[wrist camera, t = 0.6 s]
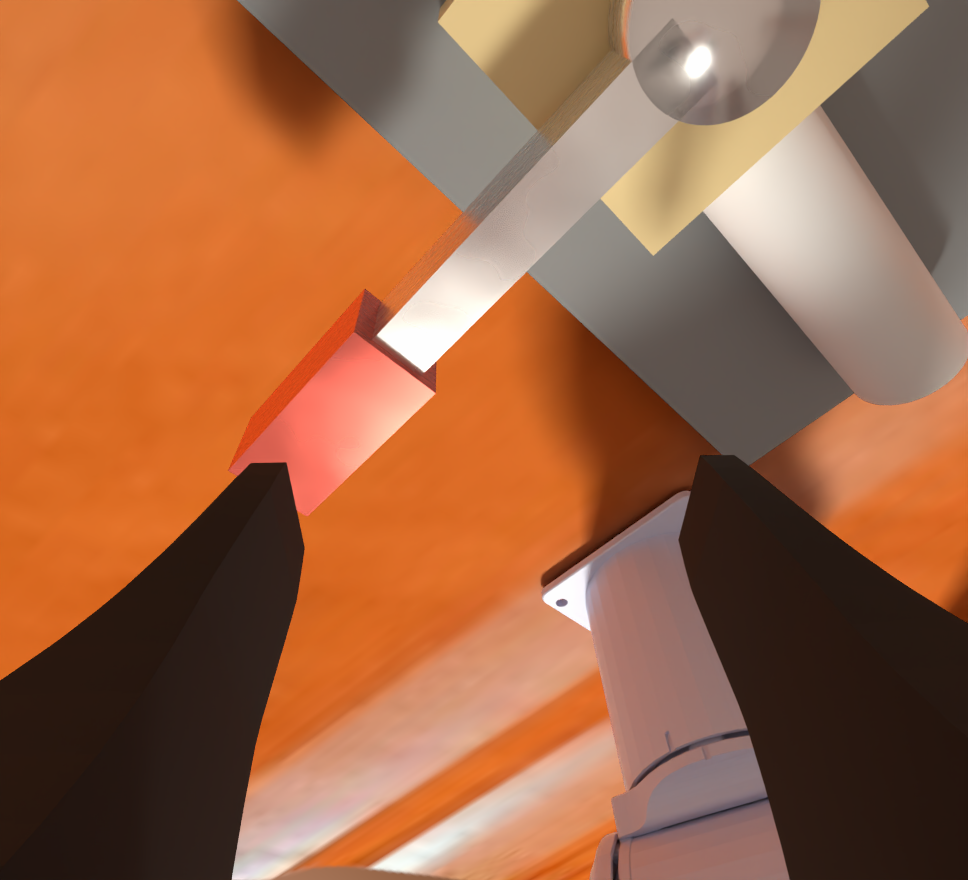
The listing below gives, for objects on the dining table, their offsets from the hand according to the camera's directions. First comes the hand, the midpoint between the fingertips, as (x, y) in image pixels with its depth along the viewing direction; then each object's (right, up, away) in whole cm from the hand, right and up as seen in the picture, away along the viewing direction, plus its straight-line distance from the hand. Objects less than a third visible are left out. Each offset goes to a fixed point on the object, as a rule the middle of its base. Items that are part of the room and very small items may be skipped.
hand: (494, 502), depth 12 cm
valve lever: (0, +5, +2) cm, 5 cm away
